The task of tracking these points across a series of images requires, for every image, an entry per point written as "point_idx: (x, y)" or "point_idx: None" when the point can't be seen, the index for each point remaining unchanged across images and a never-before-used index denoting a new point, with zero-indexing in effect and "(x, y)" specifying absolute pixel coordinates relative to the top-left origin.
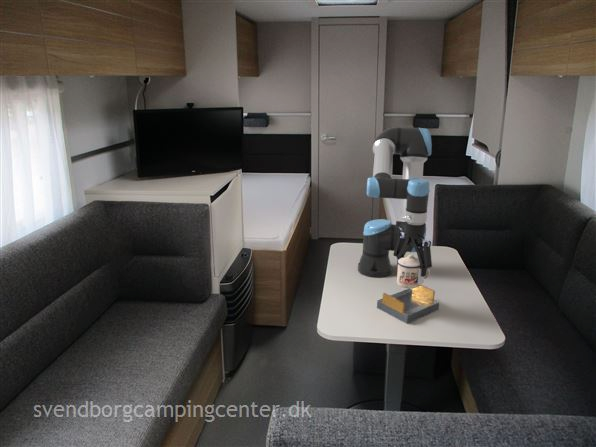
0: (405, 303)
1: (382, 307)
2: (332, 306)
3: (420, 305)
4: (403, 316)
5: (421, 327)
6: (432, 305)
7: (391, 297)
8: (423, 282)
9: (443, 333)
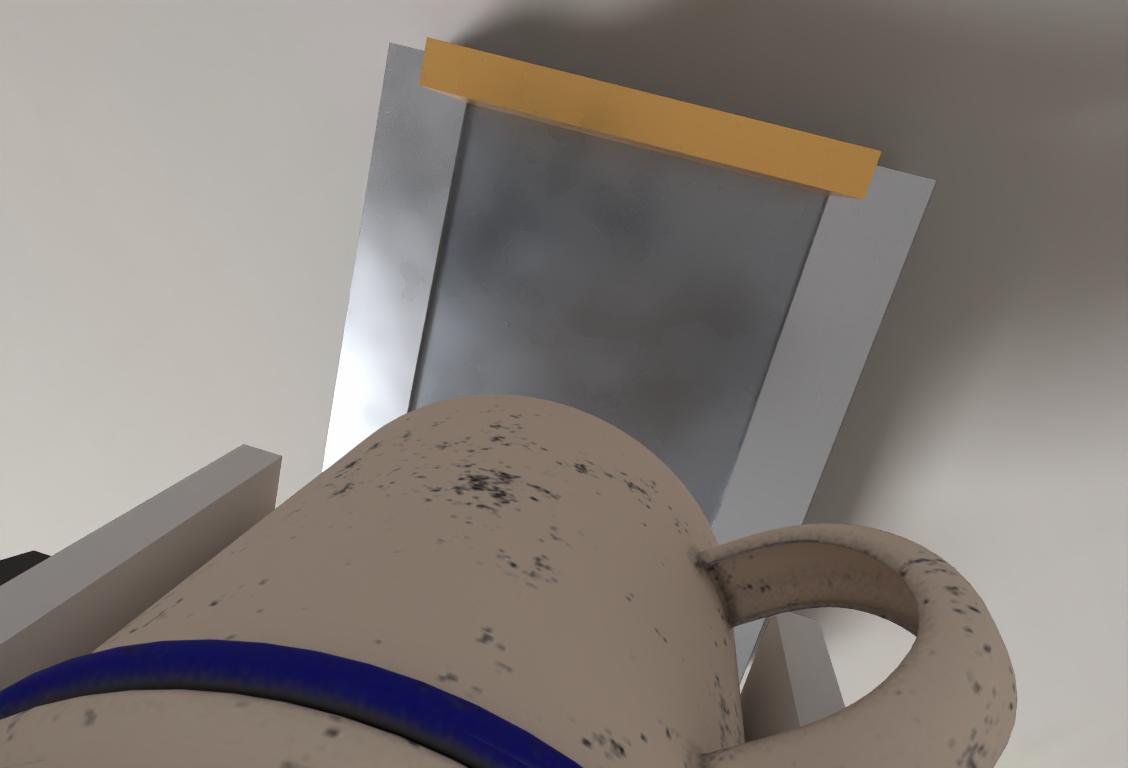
0: None
1: None
2: None
3: (747, 438)
4: None
5: (870, 659)
6: (877, 323)
7: None
8: (818, 642)
9: (1115, 653)
